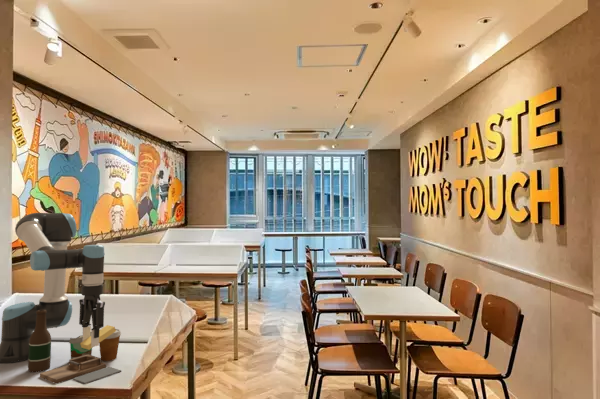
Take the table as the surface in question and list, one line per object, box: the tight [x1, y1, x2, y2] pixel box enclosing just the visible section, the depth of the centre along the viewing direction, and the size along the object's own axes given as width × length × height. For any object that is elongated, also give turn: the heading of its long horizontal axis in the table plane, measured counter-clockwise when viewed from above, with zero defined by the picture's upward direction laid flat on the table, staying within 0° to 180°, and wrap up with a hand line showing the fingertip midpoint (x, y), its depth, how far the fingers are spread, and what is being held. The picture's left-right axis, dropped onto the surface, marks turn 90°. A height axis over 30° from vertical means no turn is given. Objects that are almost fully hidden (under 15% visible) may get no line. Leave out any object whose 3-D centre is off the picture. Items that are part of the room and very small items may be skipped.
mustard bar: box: [80, 324, 117, 350], centre depth 158 cm, size 5×12×7 cm, turn 148°
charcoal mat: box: [72, 366, 122, 385], centre depth 158 cm, size 8×15×1 cm, turn 148°
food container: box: [68, 334, 93, 359], centre depth 179 cm, size 12×6×10 cm, turn 168°
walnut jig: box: [39, 354, 107, 384], centre depth 161 cm, size 12×20×4 cm, turn 148°
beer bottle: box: [27, 310, 52, 373], centre depth 165 cm, size 8×8×24 cm
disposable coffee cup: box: [98, 328, 122, 362], centre depth 178 cm, size 10×10×12 cm
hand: (90, 344), depth 156 cm, fingers closed on mustard bar, 5 cm apart
